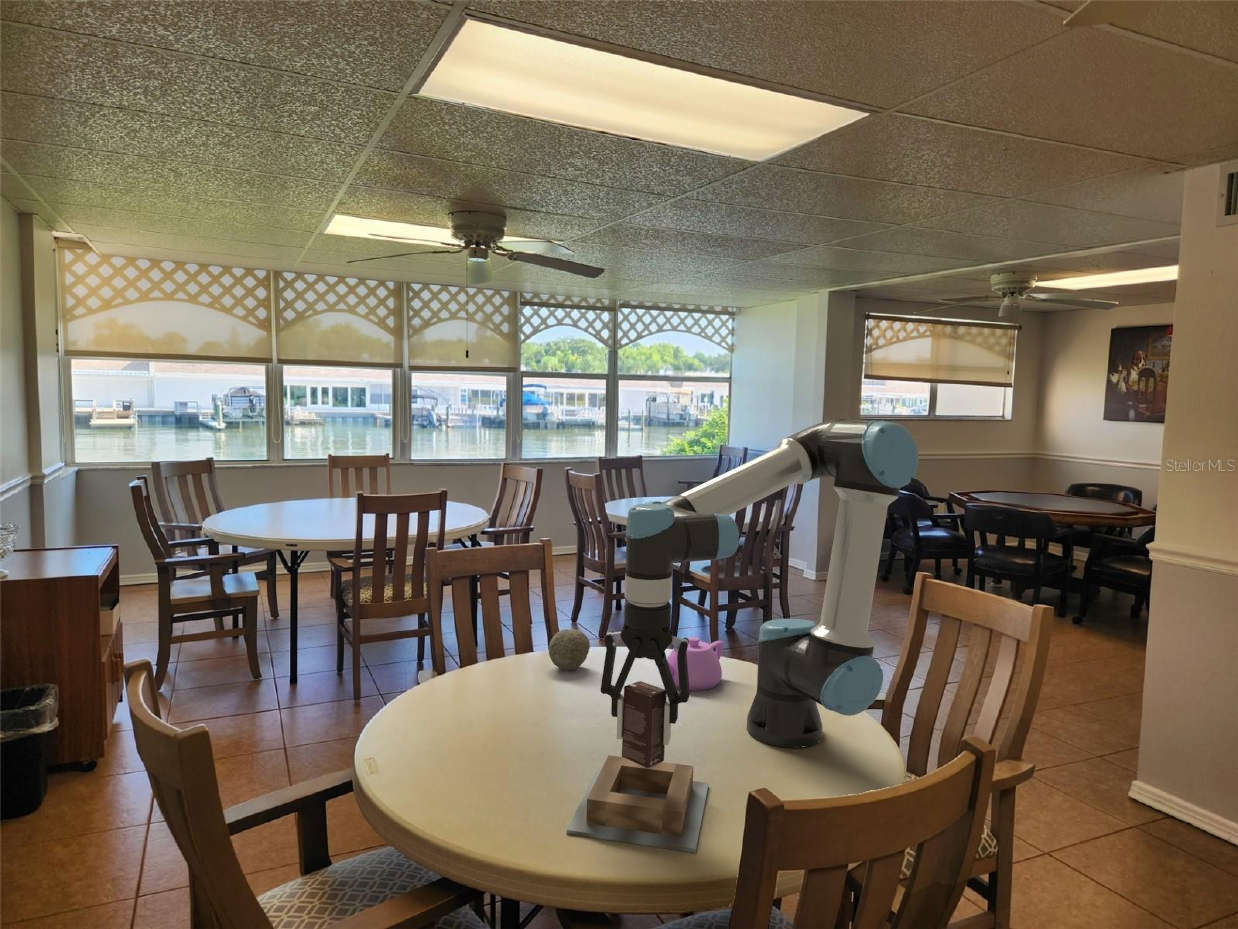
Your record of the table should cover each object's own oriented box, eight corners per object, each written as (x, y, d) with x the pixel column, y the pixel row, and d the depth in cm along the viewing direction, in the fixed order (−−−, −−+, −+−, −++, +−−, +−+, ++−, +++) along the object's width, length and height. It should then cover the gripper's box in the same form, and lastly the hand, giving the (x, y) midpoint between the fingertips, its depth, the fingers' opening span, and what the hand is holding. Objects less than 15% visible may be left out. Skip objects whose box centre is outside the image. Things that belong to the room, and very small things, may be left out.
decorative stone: (554, 678, 181) (555, 637, 180) (544, 666, 189) (545, 627, 188) (594, 673, 185) (595, 633, 184) (582, 661, 193) (583, 623, 192)
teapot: (639, 680, 181) (640, 637, 180) (704, 666, 192) (705, 625, 191) (673, 700, 169) (675, 654, 168) (740, 684, 180) (742, 640, 179)
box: (665, 760, 123) (668, 689, 122) (647, 770, 120) (649, 697, 119) (638, 748, 127) (640, 679, 126) (619, 757, 124) (621, 686, 123)
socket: (708, 786, 132) (709, 761, 132) (695, 853, 112) (696, 823, 112) (597, 771, 136) (598, 747, 136) (566, 833, 117) (567, 805, 116)
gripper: (712, 599, 123) (706, 735, 125) (593, 590, 127) (590, 722, 129) (707, 612, 115) (702, 756, 117) (581, 601, 120) (578, 741, 122)
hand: (643, 738), depth 123 cm, fingers closed on box, 7 cm apart
